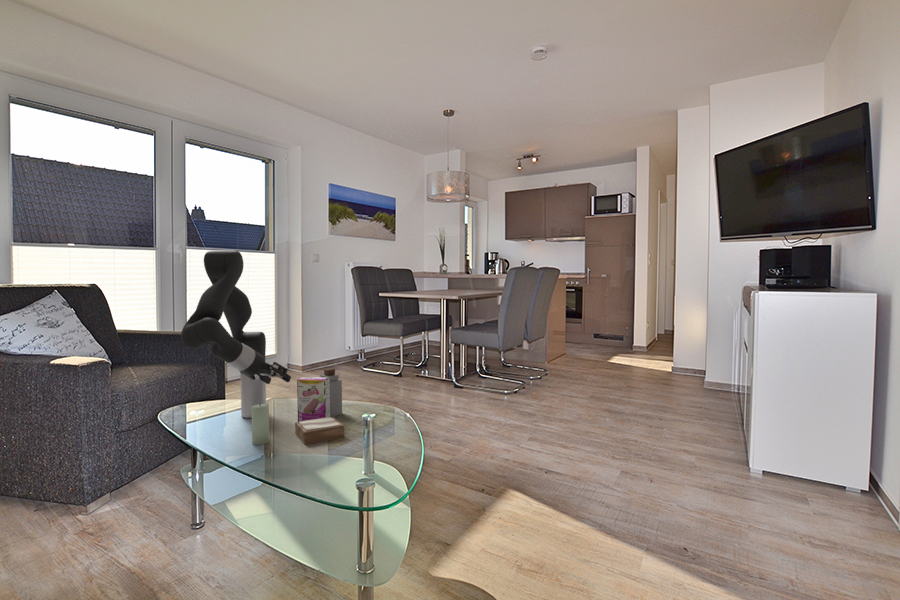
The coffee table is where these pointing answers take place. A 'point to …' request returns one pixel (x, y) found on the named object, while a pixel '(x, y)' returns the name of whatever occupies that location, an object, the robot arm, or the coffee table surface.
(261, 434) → the pillar candle
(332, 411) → the perfume bottle
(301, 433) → the walnut plinth
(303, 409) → the candy bar box
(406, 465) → the coffee table surface
